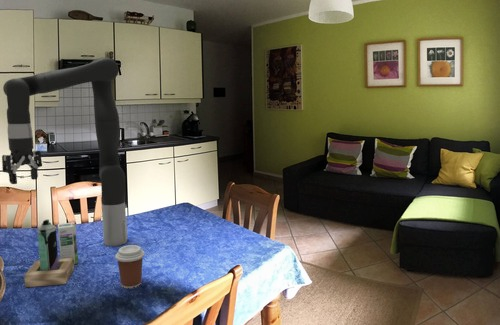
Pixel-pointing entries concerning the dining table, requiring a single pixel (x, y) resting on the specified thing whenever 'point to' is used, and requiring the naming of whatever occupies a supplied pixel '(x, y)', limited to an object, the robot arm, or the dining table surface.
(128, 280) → the coffee cup
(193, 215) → the dining table surface
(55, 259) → the spray can
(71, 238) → the syrup box
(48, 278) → the collar
